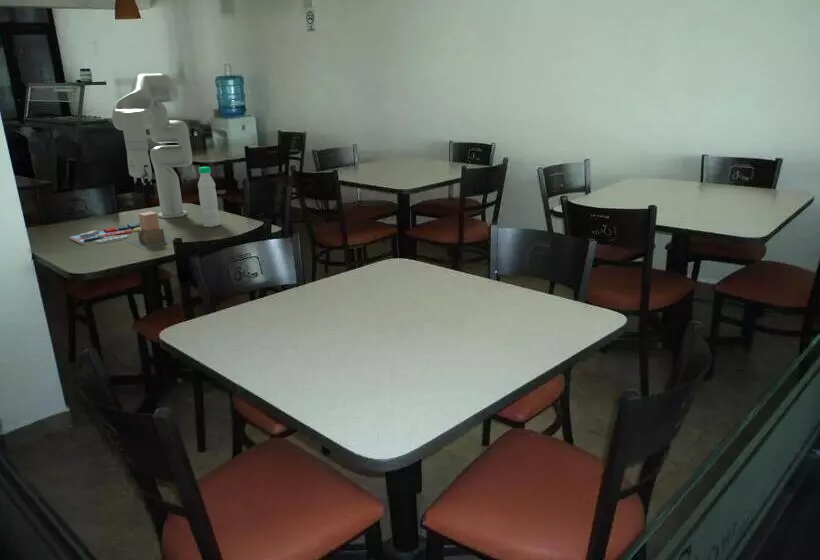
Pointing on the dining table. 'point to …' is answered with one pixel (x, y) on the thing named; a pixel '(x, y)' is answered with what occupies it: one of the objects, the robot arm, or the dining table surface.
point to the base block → (151, 236)
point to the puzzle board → (107, 234)
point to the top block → (149, 221)
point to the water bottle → (208, 198)
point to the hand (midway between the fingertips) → (144, 193)
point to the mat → (142, 245)
